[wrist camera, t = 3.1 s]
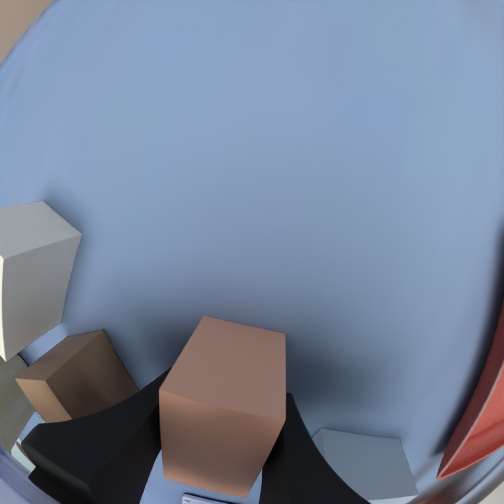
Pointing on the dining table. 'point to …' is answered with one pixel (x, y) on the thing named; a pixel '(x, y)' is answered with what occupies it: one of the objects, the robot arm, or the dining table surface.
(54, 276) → the cream brick
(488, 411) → the plant saucer
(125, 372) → the walnut brick
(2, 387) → the flower pot
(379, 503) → the slate-blue brick
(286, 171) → the dining table surface
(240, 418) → the terracotta brick
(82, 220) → the dining table surface
